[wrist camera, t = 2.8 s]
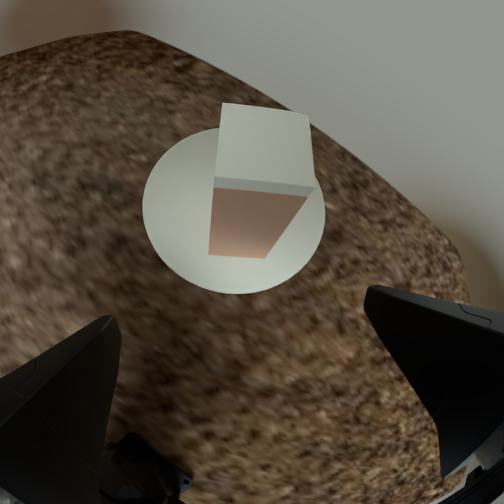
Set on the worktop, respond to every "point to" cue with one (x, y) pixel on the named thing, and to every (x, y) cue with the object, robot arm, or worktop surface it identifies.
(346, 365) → the worktop surface
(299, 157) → the pink white tall block
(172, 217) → the cream mat
